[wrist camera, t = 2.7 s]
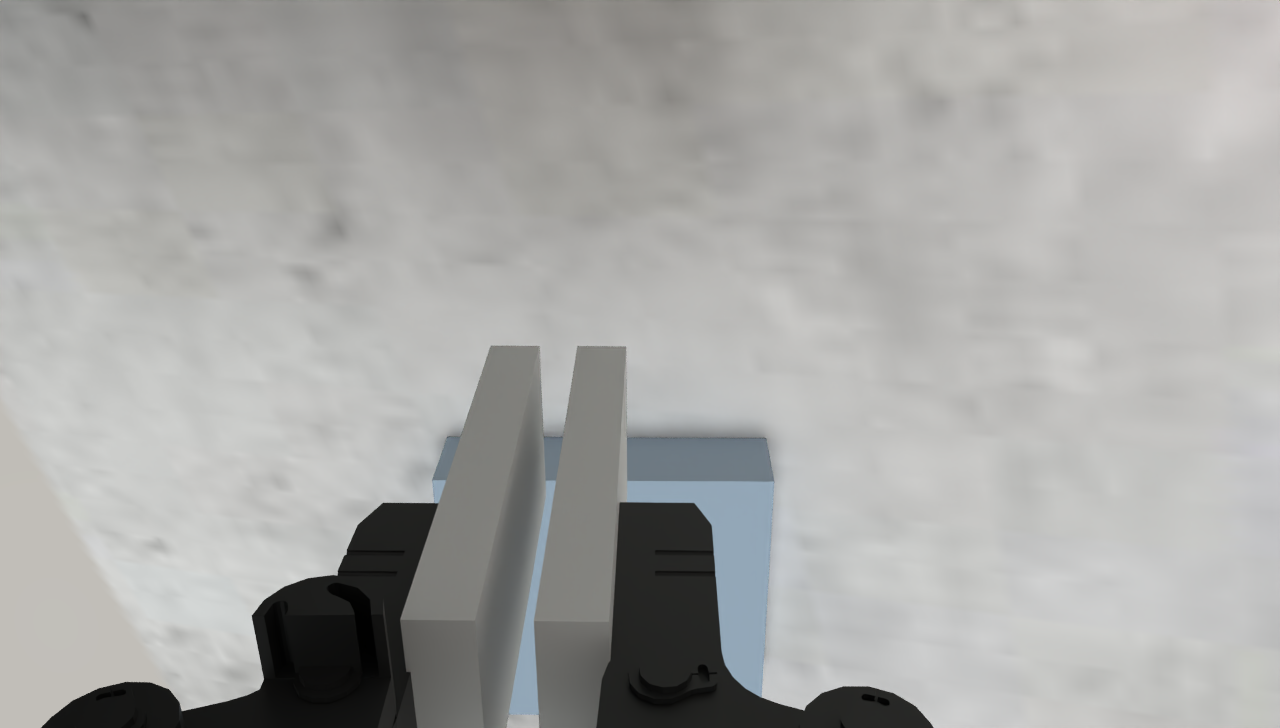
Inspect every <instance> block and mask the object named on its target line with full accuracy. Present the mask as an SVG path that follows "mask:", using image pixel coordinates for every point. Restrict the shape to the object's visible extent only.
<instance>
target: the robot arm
mask: <svg viewBox="0 0 1280 728" xmlns="http://www.w3.org/2000/svg"><path fill="white" fill-rule="evenodd" d="M545 499H546V480H545V458H544V435H543V413H542V391H541V368H540V346H491V347H490V350H489V353H488V356H487V359H486V362H485V365H484V368H483V371H482V374H481V377H480V380H479V383H478V386H477V389H476V392H475V395H474V398H473V401H472V404H471V407H470V410H469V413H468V416H467V419H466V422H465V425H464V428H463V431H462V434H461V437H460V440H459V443H458V446H457V449H456V452H455V455H454V458H453V461H452V464H451V468H450V471H449V474H448V477H447V480H446V483H445V486H444V489H443V492H442V495H441V498H440V501H439V503H382V504H381V505H380V506H379V507H378V508H377V509H376V510H374V511H373V512H372V513H371V514H370V515H369V516H368V517H366V518H365V519H364V520H363V521H362V522H361V523H360V524H358V526H357V528H356V530H355V533H354V535H353V537H352V540H351V542H350V544H349V546H348V549H347V555H345V556H344V558H343V560H342V562H341V565H340V567H339V569H338V576H335V575H331V576H323V577H315V578H308V579H305V580H302V581H299V582H297V583H294V584H291V585H288V586H285V587H283V588H282V589H280V590H279V591H277V592H276V593H274V594H273V595H271V596H270V597H268V598H267V599H265V600H264V601H263V602H262V604H261V605H260V606H259V607H258V609H257V610H256V611H255V612H254V614H253V615H252V620H253V625H254V630H255V635H256V640H257V645H258V650H259V655H260V660H261V665H262V671H263V676H264V681H263V683H262V686H261V688H260V690H258V691H256V692H254V693H251V694H249V695H247V696H243V697H240V698H237V699H233V700H230V701H227V702H222V703H218V704H213V705H209V706H204V707H200V708H195V709H191V710H186V711H181V707H180V703H179V701H178V700H177V699H176V698H175V696H174V695H173V694H172V693H171V691H170V690H169V689H166V688H163V687H161V686H158V685H156V684H153V683H147V682H124V683H120V684H116V685H111V686H107V687H103V688H99V689H97V690H94V691H92V692H90V693H88V694H86V695H84V696H82V697H80V698H77V699H75V700H73V701H72V702H70V703H69V704H68V705H67V706H65V707H64V708H63V709H61V710H60V711H59V712H58V713H56V714H55V715H54V716H52V717H51V718H50V719H49V720H48V721H47V722H46V723H45V724H44V725H43V726H42V728H506V727H507V721H508V715H509V709H510V703H511V698H512V692H513V686H514V680H515V674H516V668H517V662H518V657H519V651H520V645H521V639H522V633H523V627H524V622H525V616H526V610H527V604H528V598H529V592H530V586H531V581H532V575H533V569H534V563H535V557H536V551H537V546H538V540H539V534H540V528H541V522H542V516H543V510H544V505H545ZM534 635H535V654H536V672H537V691H538V709H539V728H933V726H932V725H931V723H930V722H929V721H928V720H927V719H926V718H925V716H924V715H923V714H922V713H921V712H920V711H919V710H918V709H917V707H916V706H914V705H912V704H911V703H909V702H907V701H906V700H904V699H902V698H901V697H899V696H897V695H896V694H894V693H890V692H887V691H883V690H879V689H876V688H872V687H840V688H837V689H834V690H831V691H827V692H824V693H821V694H820V695H819V696H818V697H817V698H815V699H814V700H813V701H812V702H811V703H809V704H808V705H807V706H806V708H805V711H804V710H800V709H796V708H792V707H788V706H785V705H781V704H778V703H775V702H772V701H769V700H767V699H764V698H761V697H759V696H758V695H756V694H754V693H752V692H751V691H749V690H747V689H746V688H744V687H743V686H742V685H741V684H740V683H739V682H738V681H737V680H736V679H735V678H734V677H733V676H732V675H731V673H730V672H729V670H728V668H727V667H726V665H725V662H724V659H723V655H722V649H721V636H720V623H719V611H718V598H717V585H716V577H715V560H714V547H713V534H712V525H711V524H710V522H709V521H708V520H707V518H706V517H705V516H704V515H703V513H702V512H701V511H700V509H699V508H698V507H697V506H696V504H695V503H654V502H627V379H626V347H607V346H577V353H576V359H575V365H574V372H573V378H572V384H571V390H570V397H569V403H568V409H567V415H566V422H565V428H564V434H563V441H562V447H561V453H560V459H559V466H558V472H557V478H556V484H555V491H554V497H553V503H552V510H551V516H550V522H549V528H548V535H547V541H546V547H545V554H544V560H543V566H542V572H541V579H540V585H539V591H538V597H537V604H536V610H535V616H534Z"/></svg>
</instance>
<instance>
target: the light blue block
mask: <svg viewBox="0 0 1280 728" xmlns="http://www.w3.org/2000/svg"><path fill="white" fill-rule="evenodd" d="M459 440H460V437H447V440H446V443H445V445H444V448H443V451H442V454H441V457H440V460H439V463H438V465H437V468H436V471H435V474H434V477H433V480H432V482H433V492H434V502H435V503H439V501H440V498H441V495H442V492H443V489H444V486H445V483H446V480H447V477H448V474H449V471H450V468H451V464H452V461H453V458H454V455H455V452H456V449H457V446H458V443H459ZM562 441H563V437H544V458H545V480H546V499H545V505H544V510H543V516H542V522H541V528H540V534H539V540H538V546H537V551H536V557H535V563H534V569H533V575H532V581H531V586H530V592H529V598H528V604H527V610H526V616H525V622H524V627H523V633H522V639H521V645H520V651H519V657H518V662H517V668H516V674H515V680H514V686H513V692H512V698H511V703H510V709H509V714H536V715H539V709H538V691H537V672H536V654H535V635H534V616H535V610H536V604H537V597H538V591H539V585H540V579H541V572H542V566H543V560H544V554H545V547H546V541H547V535H548V528H549V522H550V516H551V510H552V503H553V497H554V491H555V484H556V478H557V472H558V466H559V459H560V453H561V447H562ZM773 493H774V478H773V473H772V467H771V462H770V456H769V451H768V446H767V440H766V438H627V502H654V503H695V504H696V506H697V507H698V508H699V509H700V511H701V512H702V513H703V515H704V516H705V517H706V518H707V520H708V521H709V522H710V524H711V525H712V534H713V547H714V560H715V577H716V585H717V598H718V611H719V623H720V636H721V649H722V655H723V659H724V662H725V665H726V667H727V668H728V670H729V672H730V673H731V675H732V676H733V677H734V678H735V679H736V680H737V681H738V682H739V683H740V684H741V685H742V686H743V687H744V688H746V689H747V690H749V691H751V692H752V693H754V694H756V695H758V696H759V697H761V696H762V679H763V663H764V646H765V629H766V612H767V595H768V578H769V561H770V544H771V527H772V510H773Z"/></svg>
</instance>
